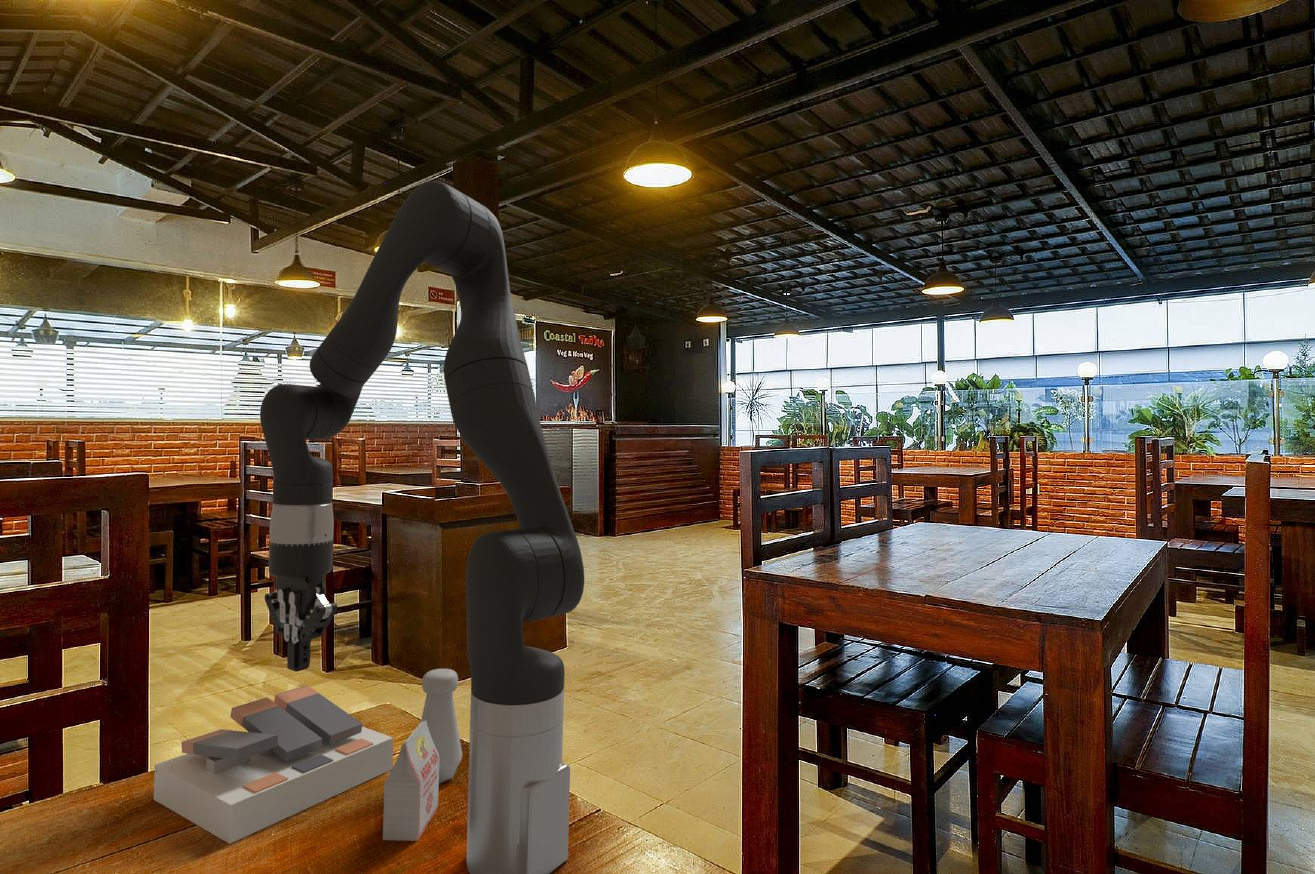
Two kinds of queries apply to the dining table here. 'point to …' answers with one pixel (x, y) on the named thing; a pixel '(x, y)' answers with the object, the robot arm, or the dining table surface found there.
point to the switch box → (266, 783)
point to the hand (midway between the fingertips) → (298, 669)
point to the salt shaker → (442, 719)
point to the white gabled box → (412, 788)
